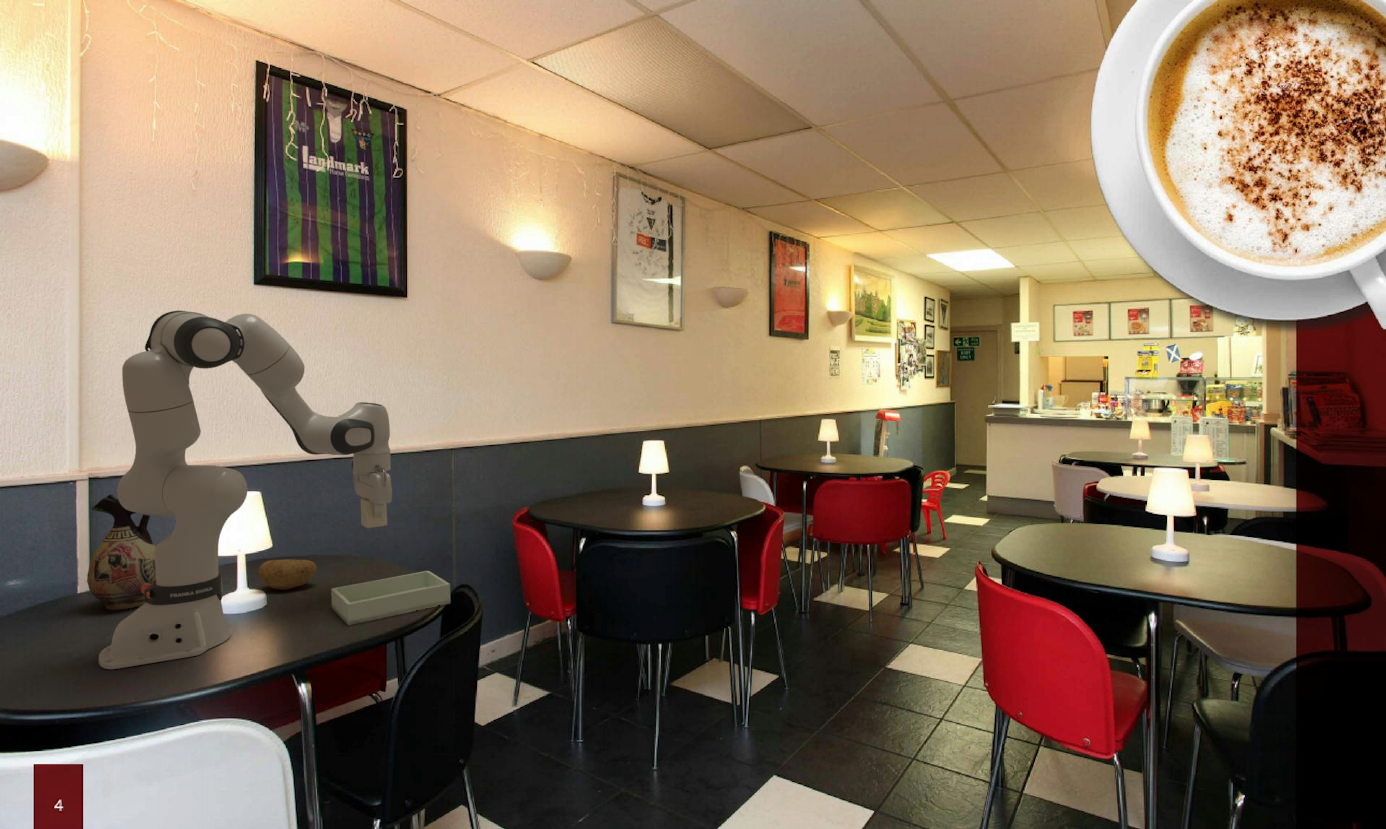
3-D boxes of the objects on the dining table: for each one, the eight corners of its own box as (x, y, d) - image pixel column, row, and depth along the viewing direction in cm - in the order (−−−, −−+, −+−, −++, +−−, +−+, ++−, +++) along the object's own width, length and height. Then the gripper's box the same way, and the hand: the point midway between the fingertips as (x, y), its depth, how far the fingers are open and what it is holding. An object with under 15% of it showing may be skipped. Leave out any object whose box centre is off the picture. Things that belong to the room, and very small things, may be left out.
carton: (367, 528, 181) (366, 501, 181) (361, 524, 185) (360, 498, 185) (387, 525, 184) (386, 499, 184) (381, 522, 188) (380, 496, 188)
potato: (310, 592, 187) (309, 562, 187) (252, 595, 185) (251, 565, 184) (322, 581, 197) (321, 553, 196) (267, 584, 194) (266, 556, 194)
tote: (348, 625, 163) (347, 604, 162) (331, 608, 175) (331, 588, 174) (450, 603, 178) (450, 584, 178) (428, 588, 190) (428, 570, 190)
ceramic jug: (78, 619, 168) (71, 495, 166) (101, 599, 182) (95, 485, 180) (165, 608, 174) (158, 489, 173) (181, 591, 188) (175, 480, 187)
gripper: (397, 466, 178) (399, 520, 179) (373, 459, 193) (374, 509, 194) (371, 469, 174) (373, 524, 175) (348, 461, 189) (350, 512, 190)
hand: (373, 516), depth 184 cm, fingers closed on carton, 5 cm apart
